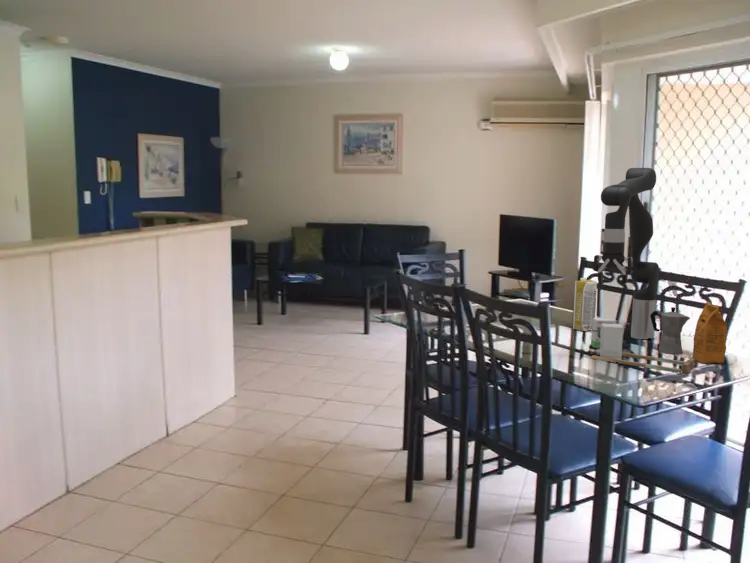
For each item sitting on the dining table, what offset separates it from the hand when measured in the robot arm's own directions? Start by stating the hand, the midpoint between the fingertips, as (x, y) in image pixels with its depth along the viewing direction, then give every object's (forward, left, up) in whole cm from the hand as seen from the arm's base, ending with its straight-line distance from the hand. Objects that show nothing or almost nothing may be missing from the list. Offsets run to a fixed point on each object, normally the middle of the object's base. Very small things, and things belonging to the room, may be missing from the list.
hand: (612, 283), depth 256 cm
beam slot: (-3, +12, -29) cm, 32 cm away
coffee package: (-21, +31, -29) cm, 47 cm away
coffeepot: (-27, +15, -29) cm, 43 cm away
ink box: (-18, -8, -29) cm, 35 cm away
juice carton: (-45, -26, -29) cm, 60 cm away
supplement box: (-3, 0, -29) cm, 30 cm away
